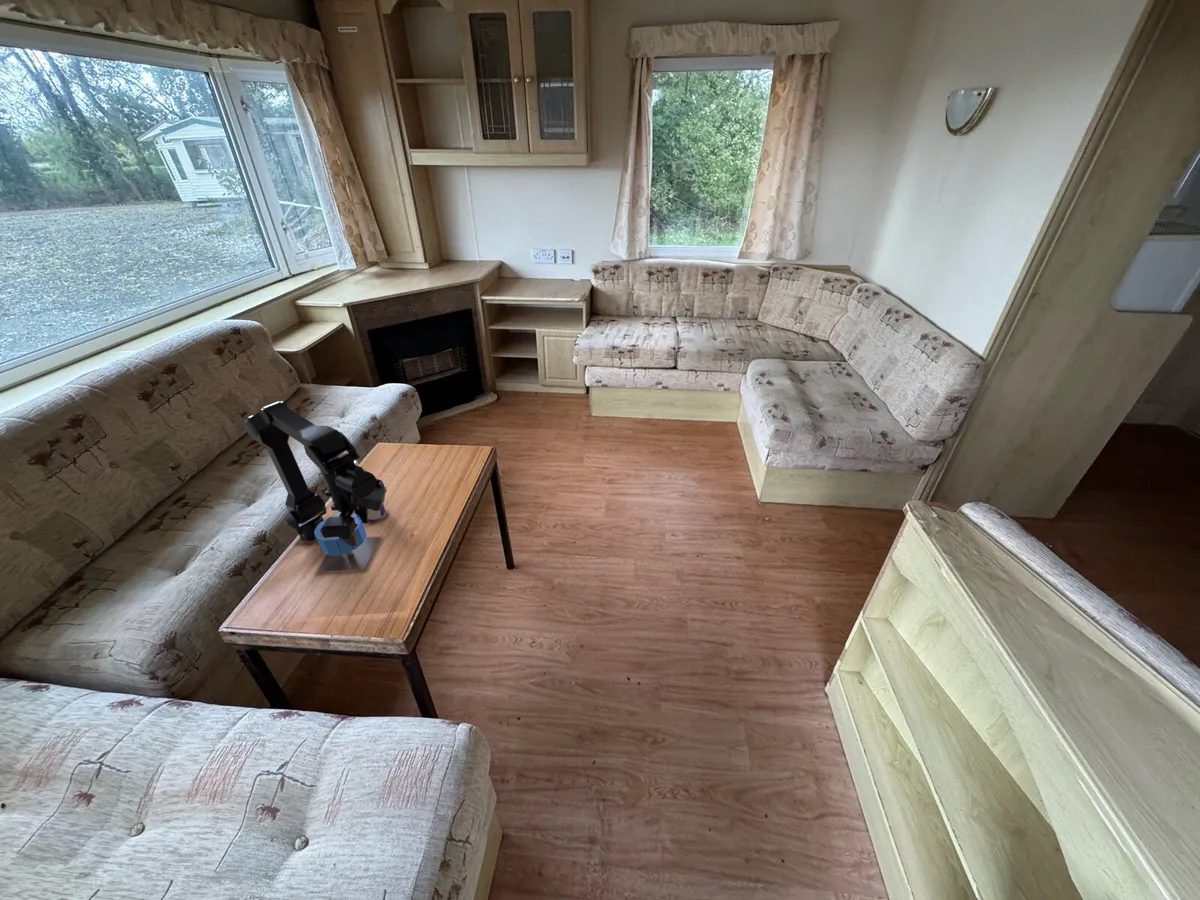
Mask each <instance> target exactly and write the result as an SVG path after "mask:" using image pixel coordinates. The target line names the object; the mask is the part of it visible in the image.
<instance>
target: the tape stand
mask: <svg viewBox="0 0 1200 900" xmlns="http://www.w3.org/2000/svg"><path fill="white" fill-rule="evenodd" d="M379 539H380V536H376V537H375V536H374V537H366V538H365V540H364V542H363V544H361V545H360V546H359V547H358V548H356V549H355V550H353V551H351V552H348V553H346V554H343V555H334V556H330V555H327V554H326V556H325V557H324V559H323V561H322V563H321V564H320V566H319V568H318V570H317V573H319V572H333V571H351V570H364V569H366V567H367V565H368V563H369V561H370V558H371V556H372V554H373V553H374V550H375V547H376V546H377V543H378V541H379Z"/></svg>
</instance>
